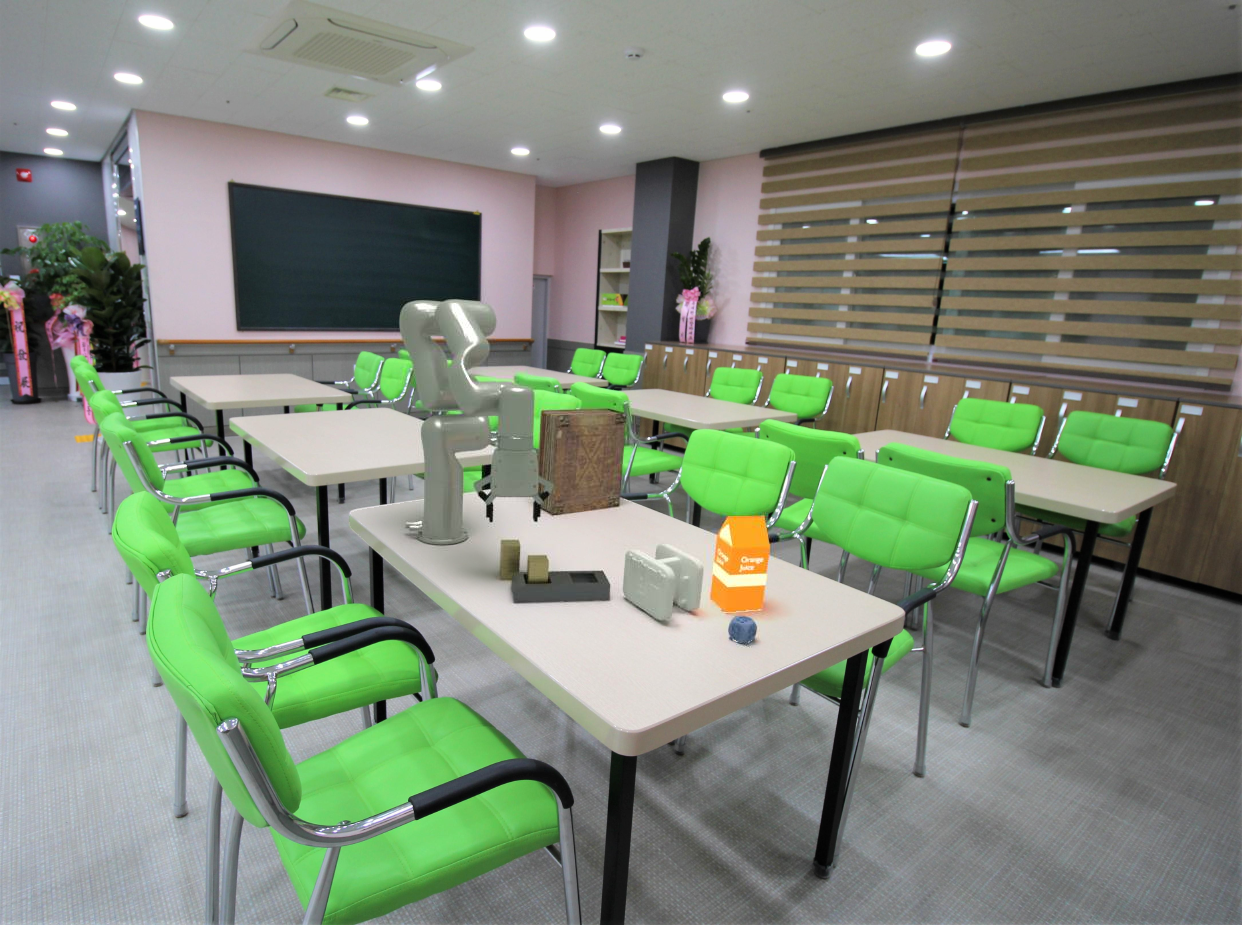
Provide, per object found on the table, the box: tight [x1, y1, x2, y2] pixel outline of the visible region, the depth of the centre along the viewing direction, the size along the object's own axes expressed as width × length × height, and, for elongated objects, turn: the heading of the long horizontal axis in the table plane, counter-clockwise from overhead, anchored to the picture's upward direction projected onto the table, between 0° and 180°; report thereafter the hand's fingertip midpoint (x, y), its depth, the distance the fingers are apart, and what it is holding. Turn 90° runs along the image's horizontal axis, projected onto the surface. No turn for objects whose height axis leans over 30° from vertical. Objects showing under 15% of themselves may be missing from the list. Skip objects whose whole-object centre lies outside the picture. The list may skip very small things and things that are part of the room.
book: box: [537, 408, 628, 517], centre depth 206 cm, size 25×9×30 cm, turn 128°
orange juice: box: [709, 515, 771, 612], centre depth 143 cm, size 8×9×20 cm
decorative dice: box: [727, 615, 758, 644], centre depth 129 cm, size 4×4×4 cm
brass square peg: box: [499, 539, 521, 581], centre depth 150 cm, size 4×4×8 cm
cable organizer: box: [622, 543, 705, 621], centre depth 140 cm, size 15×11×12 cm
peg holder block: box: [510, 554, 611, 604], centre depth 143 cm, size 20×8×8 cm, turn 103°
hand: (513, 520), depth 148 cm, fingers open, 9 cm apart
